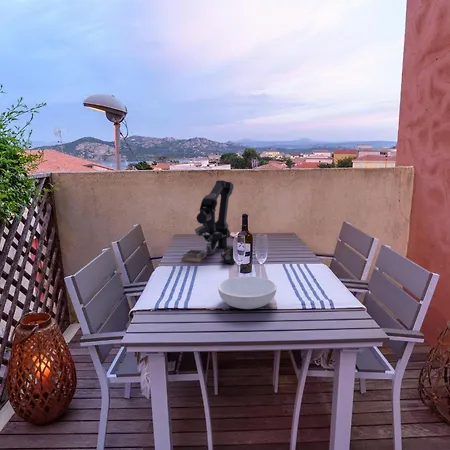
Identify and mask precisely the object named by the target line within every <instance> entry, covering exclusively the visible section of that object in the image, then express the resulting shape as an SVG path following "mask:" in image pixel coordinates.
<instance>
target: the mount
mask: <svg viewBox="0 0 450 450" xmlns="http://www.w3.org/2000/svg"><path fill="white" fill-rule="evenodd" d="M206 257H207V253H205V250H201V249H188V250H186V251H185V252H183V256H182V257H181V261H186V262H198V263H200V262H202V261H203V260H204V259H206Z"/></svg>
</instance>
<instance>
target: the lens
mask: <svg viewBox="0 0 450 450" xmlns="http://www.w3.org/2000/svg"><path fill="white" fill-rule="evenodd" d="M214 253H216V247H215V248H214V249H213V250H212V248H211V241H210V240H209V239H206V242H205V254H214Z"/></svg>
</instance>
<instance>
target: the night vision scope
mask: <svg viewBox="0 0 450 450" xmlns="http://www.w3.org/2000/svg"><path fill="white" fill-rule="evenodd" d="M233 246H234V245H229V246H228V247H226V248H224V251H223V254H222V253H221V254H220V256H221V257H220V258H221V259H223V261H224V262H225V263H230V265H234V264H235V262H236V260H235V261H234V259H233Z"/></svg>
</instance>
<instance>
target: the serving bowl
mask: <svg viewBox="0 0 450 450" xmlns="http://www.w3.org/2000/svg"><path fill="white" fill-rule="evenodd" d="M277 287H278V286H277V284H276V283H275V282H274V281H272V280H271V279H268V278H265V277H260V276H253V275H252V276H251V275H249V276H248V275H247V276H245V275H244V276H235V277H230V278H227V279H224V280H223V281H221V282H220V283H219V284H218V287H217V289H218V294H219V297H220V299H222V301H223V302H224V303H225V304H227V305H228V306H231V307H233V308H237V309H241V310H242V309H243V310H252V309H253V310H254V309H259V308H262V307H265V306H267V305H268V304H269V303H270V302H272V301H273V299H274V298H275V297H276V293H277Z"/></svg>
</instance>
